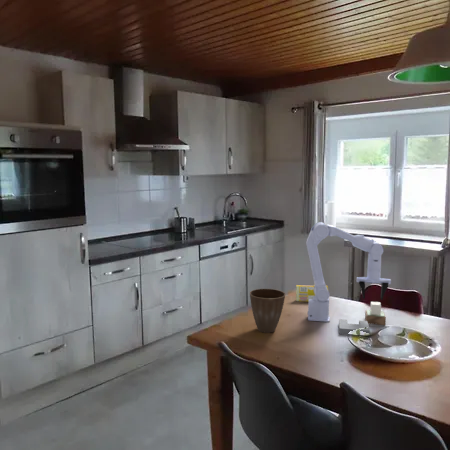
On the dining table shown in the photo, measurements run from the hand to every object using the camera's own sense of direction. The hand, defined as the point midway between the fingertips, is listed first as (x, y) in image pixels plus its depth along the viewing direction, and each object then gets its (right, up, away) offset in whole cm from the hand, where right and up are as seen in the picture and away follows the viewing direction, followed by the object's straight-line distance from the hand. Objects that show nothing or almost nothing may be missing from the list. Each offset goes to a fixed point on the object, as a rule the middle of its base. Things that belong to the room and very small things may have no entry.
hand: (372, 298), depth 202 cm
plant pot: (-49, -12, -11) cm, 51 cm away
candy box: (-21, -7, +32) cm, 39 cm away
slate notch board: (-12, -12, -11) cm, 20 cm away
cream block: (+1, -6, -1) cm, 7 cm away
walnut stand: (+1, -10, 0) cm, 10 cm away
